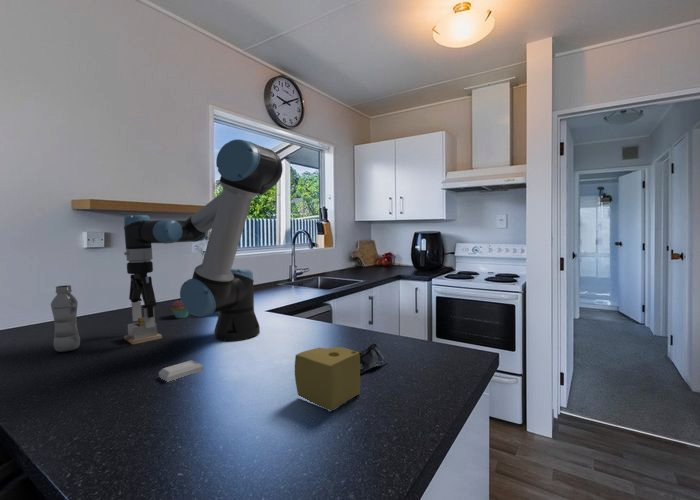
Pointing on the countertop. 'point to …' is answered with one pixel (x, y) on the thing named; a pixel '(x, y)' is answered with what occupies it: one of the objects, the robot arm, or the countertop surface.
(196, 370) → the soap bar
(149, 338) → the tan square plate
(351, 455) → the countertop surface
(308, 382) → the cheese
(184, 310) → the cupcake
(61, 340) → the plastic bottle
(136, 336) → the grey square frame
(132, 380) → the countertop surface
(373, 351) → the snack package
